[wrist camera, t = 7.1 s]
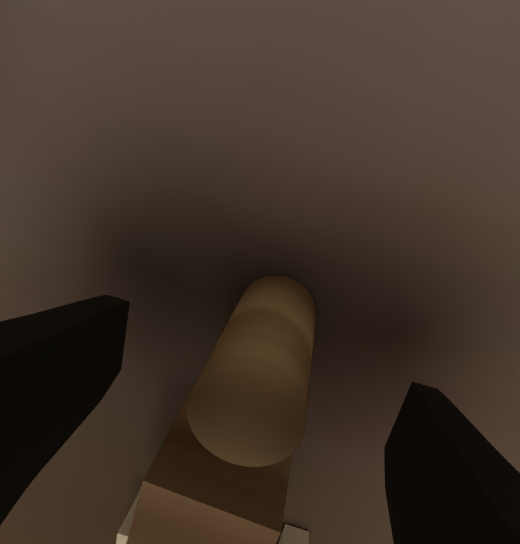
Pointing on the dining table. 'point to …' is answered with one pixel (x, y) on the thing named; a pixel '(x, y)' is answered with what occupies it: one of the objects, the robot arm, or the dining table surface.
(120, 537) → the small tray
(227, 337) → the tan rounded-end part
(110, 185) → the dining table surface
